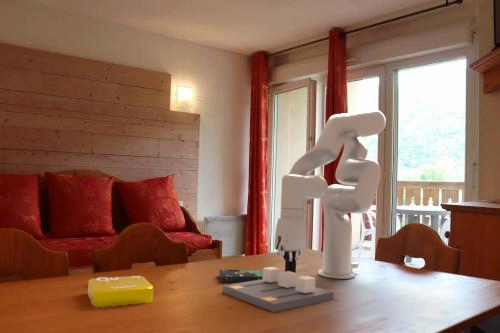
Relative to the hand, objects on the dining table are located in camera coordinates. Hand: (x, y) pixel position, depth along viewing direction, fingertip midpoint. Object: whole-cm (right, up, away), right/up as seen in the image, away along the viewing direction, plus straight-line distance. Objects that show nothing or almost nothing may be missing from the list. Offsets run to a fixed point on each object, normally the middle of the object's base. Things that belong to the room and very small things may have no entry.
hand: (290, 273), depth 138 cm
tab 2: (-2, -1, -10) cm, 10 cm away
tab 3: (+3, -1, -16) cm, 16 cm away
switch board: (-5, -3, -13) cm, 14 cm away
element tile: (-47, -2, -20) cm, 51 cm away
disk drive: (-15, -4, +6) cm, 17 cm away
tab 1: (-6, -1, -5) cm, 8 cm away
